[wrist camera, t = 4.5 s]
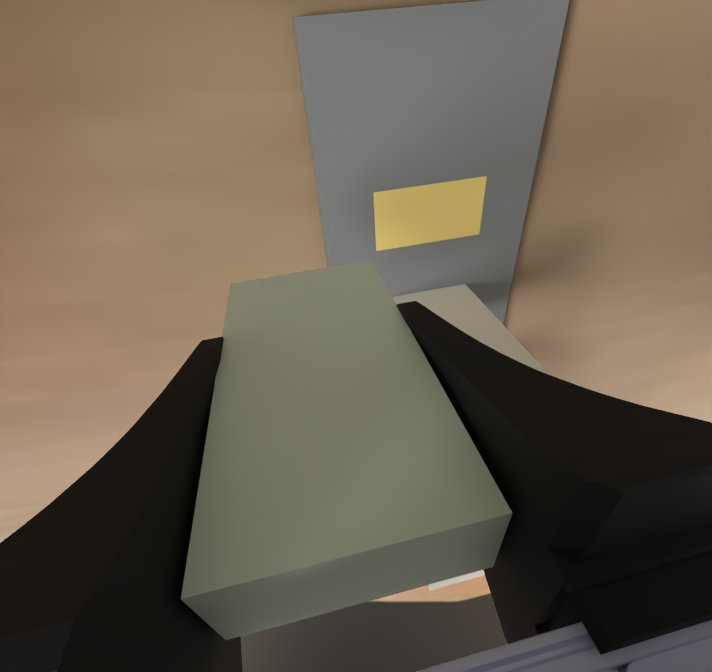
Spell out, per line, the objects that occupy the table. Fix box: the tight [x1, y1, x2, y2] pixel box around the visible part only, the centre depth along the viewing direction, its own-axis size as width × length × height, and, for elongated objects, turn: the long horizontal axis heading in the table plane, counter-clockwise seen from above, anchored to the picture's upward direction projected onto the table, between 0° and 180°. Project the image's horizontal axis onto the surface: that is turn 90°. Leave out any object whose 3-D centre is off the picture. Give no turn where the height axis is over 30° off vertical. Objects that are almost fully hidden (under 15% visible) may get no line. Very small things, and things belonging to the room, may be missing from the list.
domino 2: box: [392, 284, 550, 375], centre depth 18 cm, size 2×5×9 cm, turn 95°
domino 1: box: [181, 260, 512, 640], centre depth 9 cm, size 2×5×9 cm, turn 95°
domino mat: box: [293, 0, 569, 324], centre depth 24 cm, size 34×11×1 cm, turn 5°
